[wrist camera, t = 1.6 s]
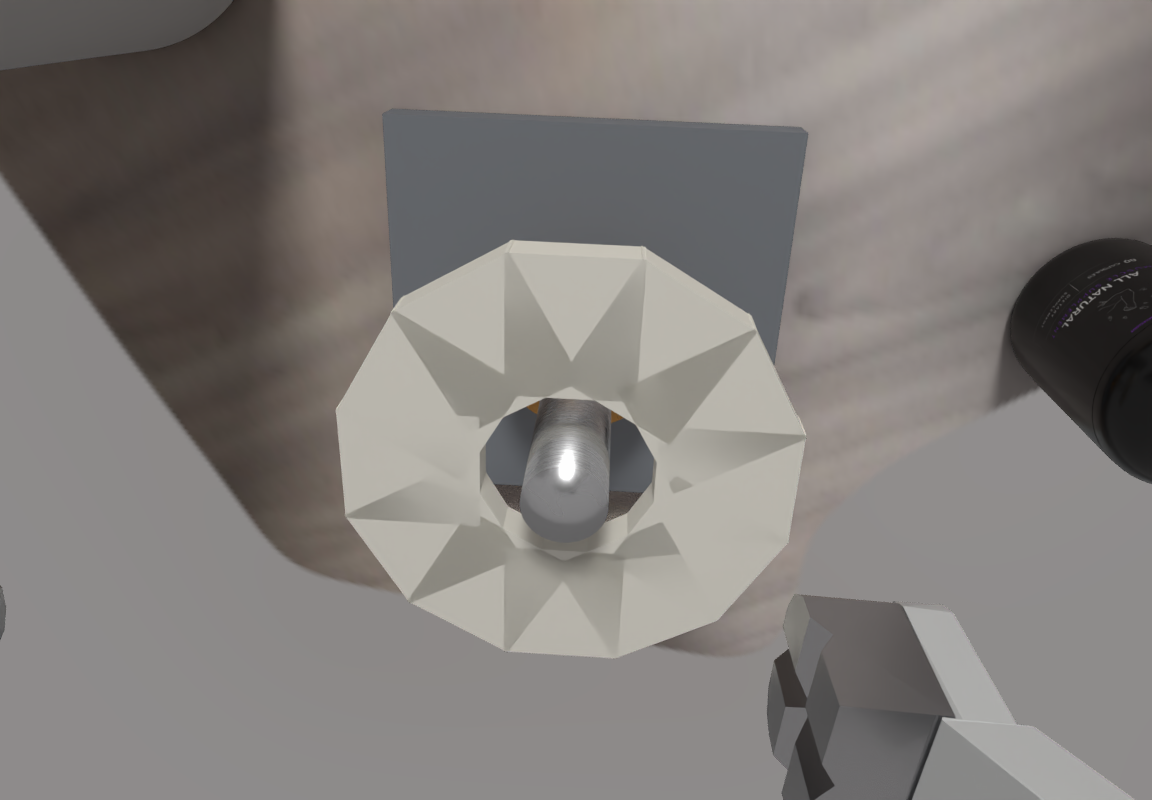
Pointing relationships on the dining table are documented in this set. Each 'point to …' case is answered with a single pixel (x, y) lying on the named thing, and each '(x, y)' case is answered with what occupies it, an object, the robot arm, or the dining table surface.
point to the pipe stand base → (595, 216)
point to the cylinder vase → (96, 27)
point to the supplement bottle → (1094, 344)
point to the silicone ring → (586, 372)
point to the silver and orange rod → (568, 469)
